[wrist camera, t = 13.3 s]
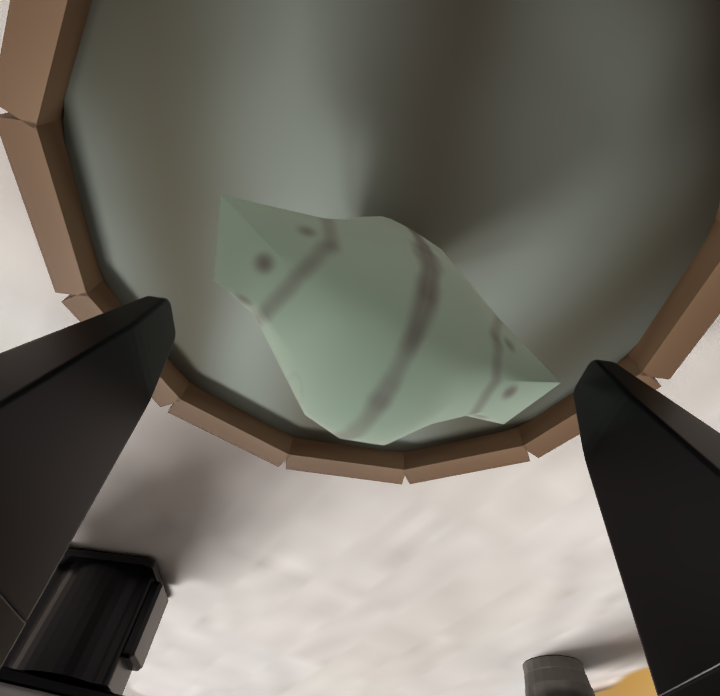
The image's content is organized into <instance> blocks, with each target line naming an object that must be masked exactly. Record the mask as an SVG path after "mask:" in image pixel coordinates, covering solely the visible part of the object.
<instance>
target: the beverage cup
mask: <svg viewBox="0 0 720 696" xmlns="http://www.w3.org/2000/svg"><path fill="white" fill-rule="evenodd" d="M523 670H524V675H525V676H524V677H525V694H526V696H595V694H594V691H593V689H592V687H591V686H590V683H589V681H588V678H587V675H586V674H585V671H584V668H583V664H582V663H581V662H580V661H579V660H577V659H575V658H571V657H567V656H541V657H536V658H532V659H530V660H528V661H526V662H525V663H524V664H523Z"/></svg>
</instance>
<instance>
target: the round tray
mask: <svg viewBox="0 0 720 696" xmlns="http://www.w3.org/2000/svg"><path fill="white" fill-rule="evenodd" d="M0 107H2V108H3V109H5V110H6V111H8V112H9V113H4V114H0V136H1V139H2V142H3V145H4V148H5V150H6V153H7V156H8V159H9V162H10V165H11V167H12V170H13V173H14V176H15V179H16V182H17V184H18V187H19V190H20V193H21V196H22V199H23V202H24V204H25V207H26V210H27V213H28V216H29V219H30V221H31V224H32V227H33V230H34V233H35V236H36V238H37V241H38V244H39V247H40V250H41V253H42V256H43V258H44V261H45V264H46V267H47V270H48V273H49V275H50V278H51V281H52V284H53V287H54V290H55V292H57V293H64V294H70V295H69V296H68V297H66V298H65V299H64V300H63V301H62V303H63V304H64V305H65V306H66V307H67V308H68V309H69V310H70V311H71V312H72V313H73V315H74V316H75V317H76V318H77V319H78V320H79V321H80V322H82V321H84V320H87V319H89V318H92V317H95V316H97V315H100V314H102V313H105V312H107V311H110V310H112V309H115V308H118V307H120V306H123V305H125V304H128V303H130V302H133V301H136V300H138V299H141V298H143V297H146V296H154V297H161V298H167V299H168V300H169V301H170V303H171V307H172V313H173V319H174V325H175V332H176V335H175V340H174V343H173V346H172V348H171V351H170V353H169V356H168V358H167V361H166V363H165V366H164V368H163V371H162V373H161V375H160V378H159V380H158V383H157V385H156V388H155V390H154V392H153V395H152V398H153V399H154V400H155V402H156V403H157V404H158V405H159V406H160V407H162V406H165V405H169V404H172V403H173V404H172V406H171V408H170V409H169V411H168V413H170V414H173V415H175V416H177V417H179V418H181V419H183V420H185V421H187V422H189V423H191V424H193V425H195V426H197V427H199V428H201V429H203V430H205V431H207V432H209V433H211V434H213V435H215V436H217V437H219V438H221V439H223V440H225V441H227V442H229V443H231V444H233V445H235V446H237V447H239V448H241V449H244V450H246V451H248V452H250V453H252V454H254V455H256V456H258V457H260V458H262V459H264V460H266V461H268V462H270V463H272V464H274V465H276V466H278V467H279V466H280V465H281V464H282V463H283V462H284V461H285V460H286V459H287V461H286V469H290V470H297V471H305V472H312V473H320V474H328V475H335V476H343V477H350V478H358V479H365V480H373V481H381V482H388V483H396V484H402V482H403V479H404V476H406V478H407V480H408V482H409V483H410V484H413V483H418V482H423V481H429V480H434V479H439V478H444V477H449V476H455V475H460V474H465V473H470V472H476V471H481V470H486V469H491V468H496V467H502V466H507V465H512V464H517V463H523V462H528V461H530V459H529V456H528V452H530V453H532V454H533V455H535V456H536V457H538V458H539V457H541V456H543V455H544V454H546V453H548V452H550V451H551V450H553V449H555V448H556V447H558V446H560V445H562V444H563V443H565V442H567V441H568V440H570V439H572V438H574V437H575V436H577V435H579V434H580V431H579V426H578V420H577V415H576V409H575V404H574V398H573V393H574V389H575V386H576V384H577V383H578V381H579V379H580V378H581V376H582V374H583V372H584V371H585V369H586V367H587V366H588V364H589V363H590V362H591V361H593V360H595V359H598V360H605V361H612V362H615V363H616V364H618V365H619V366H621V367H622V368H624V369H625V370H627V371H628V372H630V373H631V374H633V375H634V376H636V377H637V378H639V379H640V380H642V381H643V382H645V383H646V384H648V385H649V386H650V387H652V388H653V389H655V390H656V389H658V388H659V387H661V386H660V384H659V383H658V381H657V380H656V379H655V377H656V378H663V379H670V378H671V377H672V375H673V374H674V373H675V371H676V370H677V369H678V367H679V366H680V365H681V364H682V362H683V361H684V360H685V358H686V357H687V356H688V354H689V353H690V352H691V351H692V349H693V348H694V347H695V345H696V344H697V343H698V341H699V340H700V339H701V337H702V336H703V335H704V334H705V332H706V331H707V330H708V328H709V327H710V326H711V324H712V323H713V322H714V321H715V319H716V318H717V317H718V315H719V314H720V0H10V5H9V10H8V16H7V21H6V26H5V32H4V37H3V43H2V48H1V54H0ZM221 195H226V196H230V197H234V198H239V199H243V200H247V201H251V202H256V203H260V204H264V205H269V206H273V207H277V208H282V209H286V210H290V211H294V212H299V213H303V214H307V215H312V216H316V217H320V218H326V219H342V220H348V219H351V218H353V217H372V216H383V217H386V218H389V219H392V220H394V221H396V222H398V223H400V224H402V225H404V226H406V227H408V228H410V229H412V230H413V231H415V232H416V233H418V234H419V235H421V236H422V237H424V238H425V239H427V240H428V241H430V242H431V243H433V244H434V245H436V246H437V247H439V248H440V249H442V250H443V252H444V253H445V254H446V255H447V257H448V258H449V259H450V260H451V261H452V263H453V264H454V265H455V266H456V267H457V269H458V270H459V271H460V272H461V273H462V275H463V276H464V277H465V278H466V279H467V281H468V282H469V283H470V284H471V285H472V287H473V288H474V289H475V290H476V291H477V293H478V294H479V295H480V296H481V297H482V299H483V300H484V301H485V302H486V303H487V305H488V306H489V307H490V308H491V309H492V311H493V312H494V313H495V314H496V315H497V316H498V318H499V319H500V320H501V321H502V322H503V323H504V324H505V325H506V326H507V327H508V328H509V329H510V330H511V331H512V332H513V334H514V335H515V336H516V337H517V338H518V339H519V340H520V341H521V342H522V343H523V344H524V345H525V346H526V347H527V348H528V349H529V350H530V351H531V352H532V353H533V354H534V355H535V356H536V357H537V358H538V359H539V360H540V361H541V362H542V364H543V365H544V366H545V367H546V368H547V369H548V370H549V371H550V372H551V373H552V374H553V375H554V376H555V377H556V378H557V379H558V380H559V381H560V382H561V383H560V384H559V385H557V386H556V387H554V388H553V389H552V390H550V391H549V392H548V393H546V394H545V395H543V396H542V397H541V398H539V399H538V400H536V401H535V402H534V403H532V404H531V405H530V406H528V407H527V408H525V409H524V410H523V411H521V412H520V413H519V414H517V415H516V416H514V417H513V418H512V419H510V420H509V421H508V422H506V423H505V424H500V423H496V422H491V421H487V420H482V419H478V418H473V417H469V416H463V417H459V418H455V419H451V420H447V421H442V422H438V423H434V424H431V425H428V426H426V427H424V428H421V429H419V430H417V431H415V432H413V433H410V434H408V435H406V436H404V437H402V438H400V439H397V440H395V441H393V442H391V443H389V444H386V445H378V444H371V443H365V442H358V441H352V440H345V439H340V438H338V437H337V436H335V435H334V434H332V433H331V432H329V431H328V430H326V429H325V428H323V427H322V426H320V425H319V424H317V423H316V422H314V421H313V420H312V419H310V418H309V417H307V416H306V415H305V414H304V412H303V410H302V409H301V407H300V405H299V403H298V401H297V399H296V397H295V395H294V393H293V391H292V389H291V387H290V385H289V383H288V381H287V379H286V377H285V375H284V373H283V371H282V369H281V367H280V365H279V363H278V361H277V359H276V357H275V355H274V353H273V351H272V349H271V347H270V345H269V343H268V341H267V339H266V337H265V335H264V333H263V331H262V329H261V327H260V325H259V323H258V321H257V319H256V317H255V315H254V314H253V313H252V312H251V311H250V310H248V309H247V308H246V307H245V306H244V305H243V304H241V303H240V302H239V301H238V300H237V299H235V298H234V297H233V296H232V295H231V294H230V293H228V292H227V291H226V290H225V289H224V288H223V287H221V286H220V285H219V284H218V283H217V282H216V281H214V272H215V260H216V248H217V236H218V224H219V212H220V200H221ZM527 451H528V452H527Z"/></svg>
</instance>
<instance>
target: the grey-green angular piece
mask: <svg viewBox="0 0 720 696" xmlns="http://www.w3.org/2000/svg"><path fill="white" fill-rule="evenodd" d="M214 281H216V282H217V283H218V284H219V285H220V286H221V287H223V288H224V289H225V290H226V291H227V292H228V293H230V294H231V295H232V296H233V297H234V298H235V299H237V300H238V301H239V302H240V303H241V304H243V305H244V306H245V307H246V308H247V309H248V310H250V311H251V312H252V313H253V314H254V315H255V317H256V319H257V321H258V323H259V325H260V327H261V329H262V331H263V333H264V335H265V337H266V339H267V341H268V343H269V345H270V347H271V349H272V351H273V353H274V355H275V357H276V359H277V361H278V363H279V365H280V367H281V369H282V371H283V373H284V375H285V377H286V379H287V381H288V383H289V385H290V387H291V389H292V391H293V393H294V395H295V397H296V399H297V401H298V403H299V405H300V407H301V409H302V410H303V412H304V414H305V415H306V416H307V417H309V418H310V419H312V420H313V421H314V422H316V423H317V424H319V425H320V426H322V427H323V428H325V429H326V430H328V431H329V432H331V433H332V434H334V435H335V436H337V437H338V438H340V439H345V440H352V441H358V442H365V443H371V444H378V445H386V444H389V443H391V442H393V441H395V440H397V439H400V438H402V437H404V436H406V435H408V434H410V433H413V432H415V431H417V430H419V429H421V428H424V427H426V426H428V425H431V424H434V423H438V422H442V421H447V420H451V419H455V418H459V417H463V416H469V417H473V418H478V419H482V420H487V421H491V422H496V423H500V424H505V423H506V422H508V421H509V420H510V419H512V418H513V417H514V416H516V415H517V414H519V413H520V412H521V411H523V410H524V409H525V408H527V407H528V406H530V405H531V404H532V403H534V402H535V401H536V400H538V399H539V398H541V397H542V396H543V395H545V394H546V393H548V392H549V391H550V390H552V389H553V388H554V387H556V386H557V385H559V384H560V383H561V382H560V381H559V380H558V379H557V378H556V377H555V376H554V375H553V374H552V373H551V372H550V371H549V370H548V369H547V368H546V367H545V366H544V365H543V364H542V362H541V361H540V360H539V359H538V358H537V357H536V356H535V355H534V354H533V353H532V352H531V351H530V350H529V349H528V348H527V347H526V346H525V345H524V344H523V343H522V342H521V341H520V340H519V339H518V338H517V337H516V336H515V335H514V334H513V332H512V331H511V330H510V329H509V328H508V327H507V326H506V325H505V324H504V323H503V322H502V321H501V320H500V319H499V318H498V316H497V315H496V314H495V313H494V312H493V311H492V309H491V308H490V307H489V306H488V305H487V303H486V302H485V301H484V300H483V299H482V297H481V296H480V295H479V294H478V293H477V291H476V290H475V289H474V288H473V287H472V285H471V284H470V283H469V282H468V281H467V279H466V278H465V277H464V276H463V275H462V273H461V272H460V271H459V270H458V269H457V267H456V266H455V265H454V264H453V263H452V261H451V260H450V259H449V258H448V257H447V255H446V254H445V253H444V252H443V250H442V249H440V248H439V247H437V246H436V245H434V244H433V243H431V242H430V241H428V240H427V239H425V238H424V237H422V236H421V235H419V234H418V233H416V232H415V231H413V230H412V229H410V228H408V227H406V226H404V225H402V224H400V223H398V222H396V221H394V220H392V219H389V218H386V217H383V216H372V217H353V218H351V219H348V220H342V219H326V218H320V217H316V216H312V215H307V214H303V213H299V212H294V211H290V210H286V209H282V208H277V207H273V206H269V205H264V204H260V203H256V202H251V201H247V200H243V199H239V198H234V197H230V196H226V195H221V200H220V212H219V224H218V236H217V248H216V260H215V272H214Z"/></svg>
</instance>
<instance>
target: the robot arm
mask: <svg viewBox="0 0 720 696" xmlns="http://www.w3.org/2000/svg"><path fill="white" fill-rule="evenodd" d="M175 335H176V332H175V325H174V319H173V313H172V307H171V303H170V301H169V300H168V299H167V298H161V297H154V296H146V297H143V298H141V299H138V300H136V301H133V302H130V303H128V304H125V305H123V306H120V307H118V308H115V309H112V310H110V311H107V312H105V313H102V314H100V315H97V316H95V317H92V318H89V319H87V320H84V321H82V322H79V323H77V324H74V325H71V326H69V327H66V328H64V329H61V330H59V331H56V332H54V333H51V334H48V335H46V336H43V337H41V338H38V339H36V340H33V341H30V342H28V343H25V344H23V345H20V346H18V347H15V348H13V349H10V350H7V351H5V352H2V353H0V696H123V695H122V694H123V691H124V689H125V686H126V684H127V681H128V679H129V676H130V674H131V671H132V670H133V671H138V670H139V669H141V668H142V667H143V664H144V662H145V659H146V657H147V654H148V651H149V649H150V646H151V644H152V641H153V639H154V636H155V633H156V631H157V628H158V626H159V623H160V621H161V618H162V615H163V613H164V610H165V608H166V605H167V603H168V598H167V595H166V592H165V589H164V586H163V583H162V580H161V577H160V574H159V571H158V568H157V565H156V563H155V561H153V560H151V559H148V558H141V557H133V556H125V555H117V554H109V553H101V552H93V551H85V550H77V549H69V548H68V546H69V545H70V543H71V541H72V539H73V537H74V536H75V534H76V532H77V530H78V529H79V527H80V525H81V523H82V521H83V520H84V518H85V516H86V514H87V512H88V511H89V509H90V507H91V505H92V504H93V502H94V500H95V498H96V496H97V495H98V493H99V491H100V489H101V487H102V486H103V484H104V482H105V480H106V479H107V477H108V475H109V473H110V471H111V470H112V468H113V466H114V464H115V462H116V461H117V459H118V457H119V455H120V454H121V452H122V450H123V448H124V446H125V445H126V443H127V441H128V439H129V437H130V436H131V434H132V432H133V430H134V429H135V427H136V425H137V423H138V421H139V420H140V418H141V416H142V414H143V412H144V411H145V409H146V407H147V405H148V403H149V401H150V399H151V397H152V395H153V392H154V390H155V388H156V385H157V383H158V380H159V378H160V375H161V373H162V371H163V368H164V366H165V363H166V361H167V358H168V356H169V353H170V351H171V348H172V346H173V343H174V340H175ZM573 398H574V404H575V409H576V415H577V420H578V426H579V431H580V436H581V442H582V447H583V452H584V456H585V461H586V464H587V468H588V471H589V474H590V478H591V481H592V484H593V487H594V491H595V494H596V497H597V500H598V504H599V507H600V510H601V513H602V517H603V520H604V523H605V526H606V530H607V533H608V536H609V539H610V543H611V546H612V549H613V552H614V556H615V559H616V562H617V565H618V569H619V572H620V575H621V578H622V582H623V585H624V588H625V591H626V595H627V598H628V601H629V604H630V608H631V611H632V614H633V617H634V621H635V624H636V627H637V630H638V634H639V637H640V640H641V643H642V647H643V650H644V653H645V656H646V660H647V663H648V666H649V669H650V672H651V676H652V679H653V682H654V686H655V689H656V692H657V695H658V696H720V433H719V432H717V431H716V430H714V429H713V428H711V427H710V426H708V425H707V424H705V423H704V422H702V421H701V420H699V419H698V418H696V417H695V416H694V415H692V414H691V413H689V412H688V411H686V410H685V409H683V408H682V407H680V406H679V405H677V404H676V403H674V402H673V401H671V400H670V399H668V398H667V397H665V396H664V395H662V394H661V393H659V392H658V391H656V390H655V389H653V388H652V387H650V386H649V385H648V384H646V383H645V382H643V381H642V380H640V379H639V378H637V377H636V376H634V375H633V374H631V373H630V372H628V371H627V370H625V369H624V368H622V367H621V366H619V365H618V364H616V363H615V362H612V361H605V360H598V359H595V360H593V361H591V362H590V363H589V364H588V366H587V367H586V369H585V371H584V372H583V374H582V376H581V378H580V379H579V381H578V383H577V384H576V386H575V389H574V393H573Z"/></svg>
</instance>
